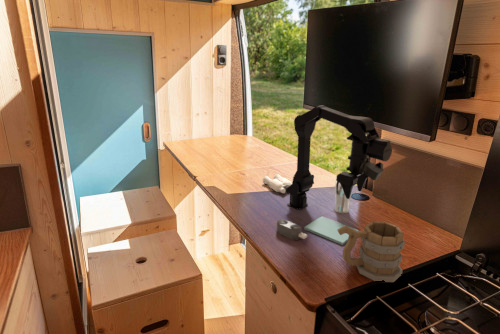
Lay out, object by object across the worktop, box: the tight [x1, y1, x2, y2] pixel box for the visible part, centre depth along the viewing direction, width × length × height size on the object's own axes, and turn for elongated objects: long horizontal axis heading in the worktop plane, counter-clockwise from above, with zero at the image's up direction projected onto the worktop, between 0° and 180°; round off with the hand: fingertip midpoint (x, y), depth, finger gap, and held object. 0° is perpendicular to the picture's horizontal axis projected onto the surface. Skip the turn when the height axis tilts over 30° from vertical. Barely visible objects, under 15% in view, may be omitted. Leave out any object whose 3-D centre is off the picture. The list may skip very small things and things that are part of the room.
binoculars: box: [262, 173, 293, 194], centre depth 168 cm, size 10×16×5 cm, turn 28°
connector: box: [276, 218, 308, 241], centre depth 125 cm, size 12×4×4 cm, turn 47°
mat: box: [303, 215, 360, 246], centre depth 129 cm, size 16×12×1 cm
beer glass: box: [333, 175, 353, 214], centre depth 143 cm, size 7×7×15 cm
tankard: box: [338, 221, 406, 283], centre depth 105 cm, size 20×13×15 cm, turn 88°
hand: (353, 194), depth 127 cm, fingers open, 9 cm apart
